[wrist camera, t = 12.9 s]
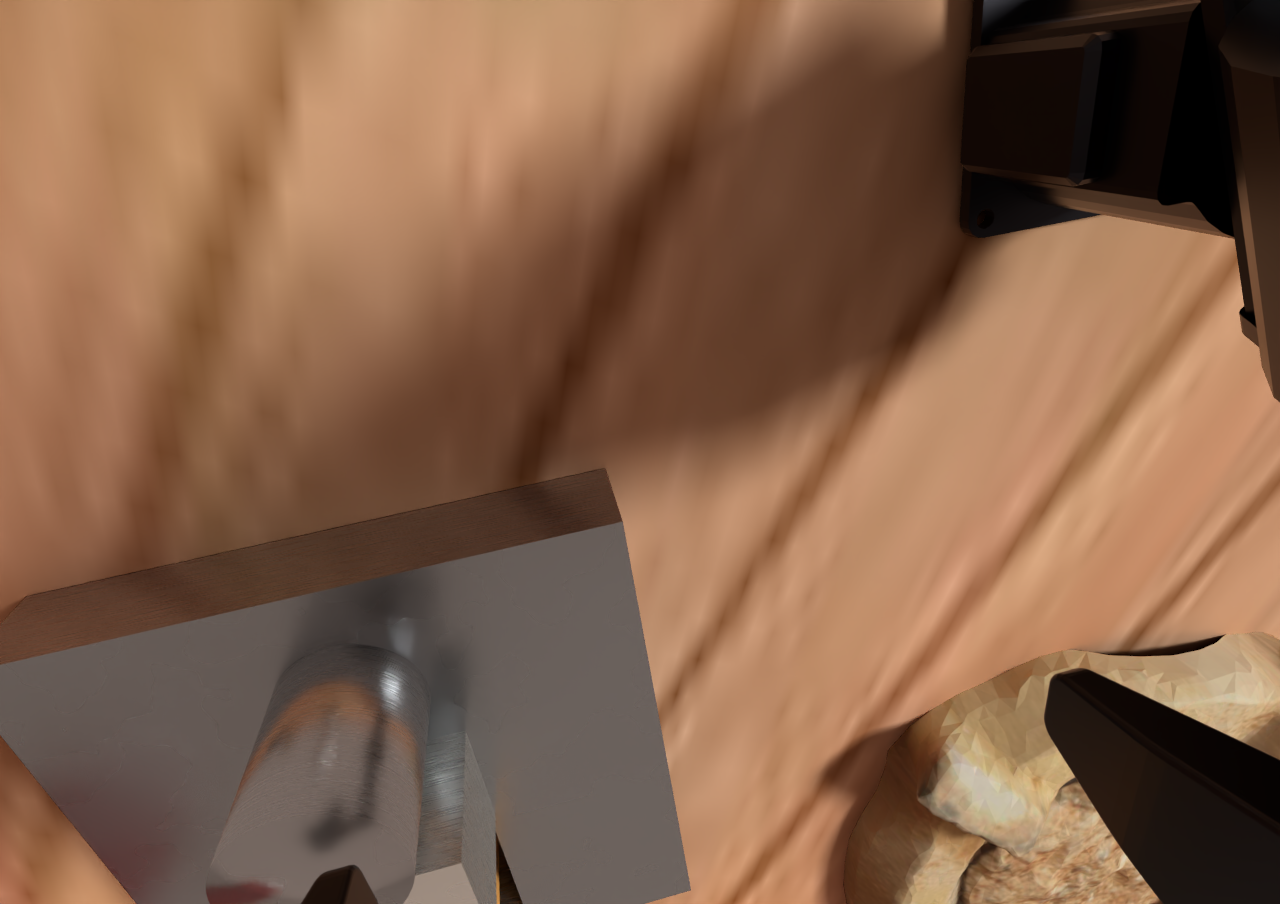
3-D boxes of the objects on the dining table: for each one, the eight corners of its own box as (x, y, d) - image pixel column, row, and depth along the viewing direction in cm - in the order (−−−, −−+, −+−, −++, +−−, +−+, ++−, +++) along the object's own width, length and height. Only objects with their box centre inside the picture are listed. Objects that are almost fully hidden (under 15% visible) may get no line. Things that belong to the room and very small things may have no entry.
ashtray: (975, 556, 26) (1076, 650, 21) (1383, 636, 33) (1522, 719, 28) (741, 959, 35) (778, 1085, 30) (1103, 954, 42) (1176, 1055, 37)
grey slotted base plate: (605, 468, 21) (665, 655, 14) (671, 816, 28) (733, 1053, 21) (25, 596, 19) (-242, 884, 12) (258, 931, 27) (175, 1230, 20)
